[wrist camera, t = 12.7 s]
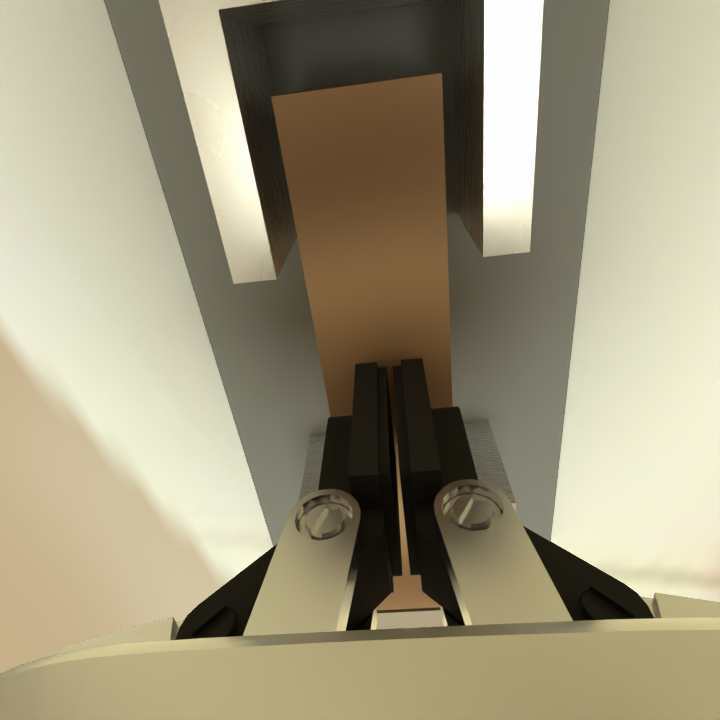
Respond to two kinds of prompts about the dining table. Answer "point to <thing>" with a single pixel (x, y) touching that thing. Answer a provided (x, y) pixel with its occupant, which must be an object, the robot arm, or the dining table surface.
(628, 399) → the dining table surface
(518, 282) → the mat
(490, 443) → the endcap
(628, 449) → the dining table surface
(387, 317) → the slat
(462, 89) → the endcap
